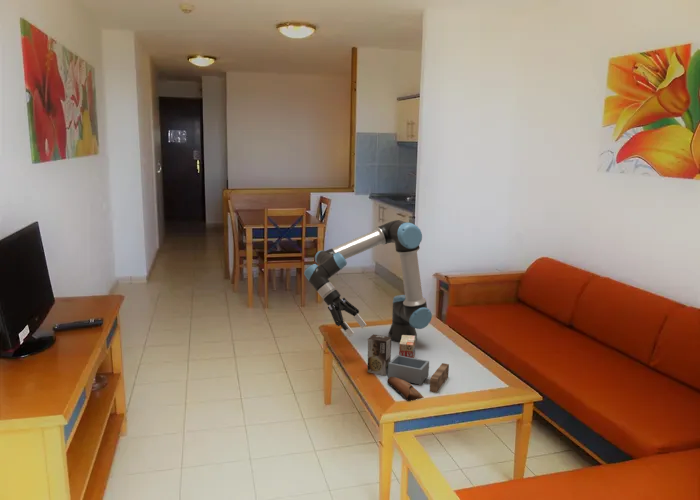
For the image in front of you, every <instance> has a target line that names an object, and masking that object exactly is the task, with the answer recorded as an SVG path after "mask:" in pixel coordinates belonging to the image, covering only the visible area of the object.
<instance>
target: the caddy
mask: <svg viewBox="0 0 700 500" xmlns="http://www.w3.org/2000/svg"><path fill="white" fill-rule="evenodd" d="M429 371H430V360H425V359H420V358H416V357H414V358H410V357H405V356H400V355H399V354H396V356H395V357H393V359H391V361H390V362H389V363H388V374H387V379H388V378H389V377H396V378H399V379H402V380H404V381H406V382H408V383H410V384H411V383H412V384H415V385H422V384H424V383H423V381H424V380H425V379H428V377H429Z"/></svg>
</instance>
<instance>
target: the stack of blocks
mask: <svg viewBox="0 0 700 500" xmlns="http://www.w3.org/2000/svg"><path fill="white" fill-rule="evenodd" d="M398 352H399V353H398V355H400V356H405V357H410V358H416V357H415V356H416V340H415V336H412V335H402V338H401V341H400V342H399V351H398Z"/></svg>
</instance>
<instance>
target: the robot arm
mask: <svg viewBox="0 0 700 500" xmlns="http://www.w3.org/2000/svg"><path fill="white" fill-rule="evenodd" d="M421 230H422V229H420V228H419V226H417V225H416V224H414V223H412V222H406V221H404V220H400V219H398V220H397V219H396V220H392V221H388V222H385V223H384V224H381V225H379V226H377V227H375V230H372V231H370V232H367V233H366V234H363V235H361V236H359V237H355V238H353V239H351V240H349V241H346V242H344V243H342V244H339V245H337V246H334V247H332V248H329V249H328V250H319V251H317V252H316V254H314V255H315V256H314V261H315V263H314V264H311V265H309V266H308V267H307V268H306V269H305V270H304V273H303V275H304V277H305V278H306V279H307V280H308V282H309V284H310V285H311V286H312V287H313V288H314V290H315V291H316V292H317V293H318V294H319V296H320V297H321V298H322V299H323V301H324V302H325V304H326V305H327V309H328V311H329V312H330V314H331V316H332V319H333V322H334V323H335V326H337V327H341V328H342V330H344V332H345V333H346V334H347V336H348V337H351V336H353V335H354V334H355V331H353V329H352V328H351V326H349V324H348V323H347V321H344V317H343V314H342V312H343V311H344V312H346V313H348V314H349V315H350V316H353V319H354V320H355V321H356V323H357V324H358V325H359V326H360V328H361V329H363V328H364V327H366V326H367V323H366V322H365V321H364V319H363V318H362V317H361V316H360V314H359V313H360V310H359V309H358V308H357V307H356V306H354V305H353V304H352V303H351V302H349V301H348V300H347V299H346V298H345V297H343V298H342V299H341V298H340V297H341V293H340V292H339V291H338V289H336V287H335V286H334V284H332V282H331V281H330V280H329V279H330V278H332V277H333V276H334V275H335V274H336V273H338V272H339V271H341V270H342V269H343V268H345V267H346V266H347V260H346V259H349V258H352V257H353V256H356V255H358V254H361V253H364V252H365V251H368V250H370V249H373V248H375V247H377V246H380V245H382V246H385V245H388V244H394V246H395V252H396V253H397V254H398V255H399V261H400V266H401V267H400V268H401V269H400V270H401V276H402V283H403V290H404V294H399V295H394V296H393V299H392V314H391V315H392V317H391V318H392V319H391V320H392V321H391V325H390V328H389V330H388V335H387V337H391V341H393V342H398V343H400V341H401V338H402V335H412V336H415V341H416V340H417V338H418V333H417V330H422V329H424V328H426V327H428V326H429V324H430V323H431V321H432V317H433V313H432V311H431V310H430V308H428V306H427V299H426V298H424V297H423V292H422V291H423V290H422V282H421V281H422V280H421V274H420V268H419V259H418V258H419V257H418V252H419V251H420V244H421V243H422V240H423V233H422V231H421Z"/></svg>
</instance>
